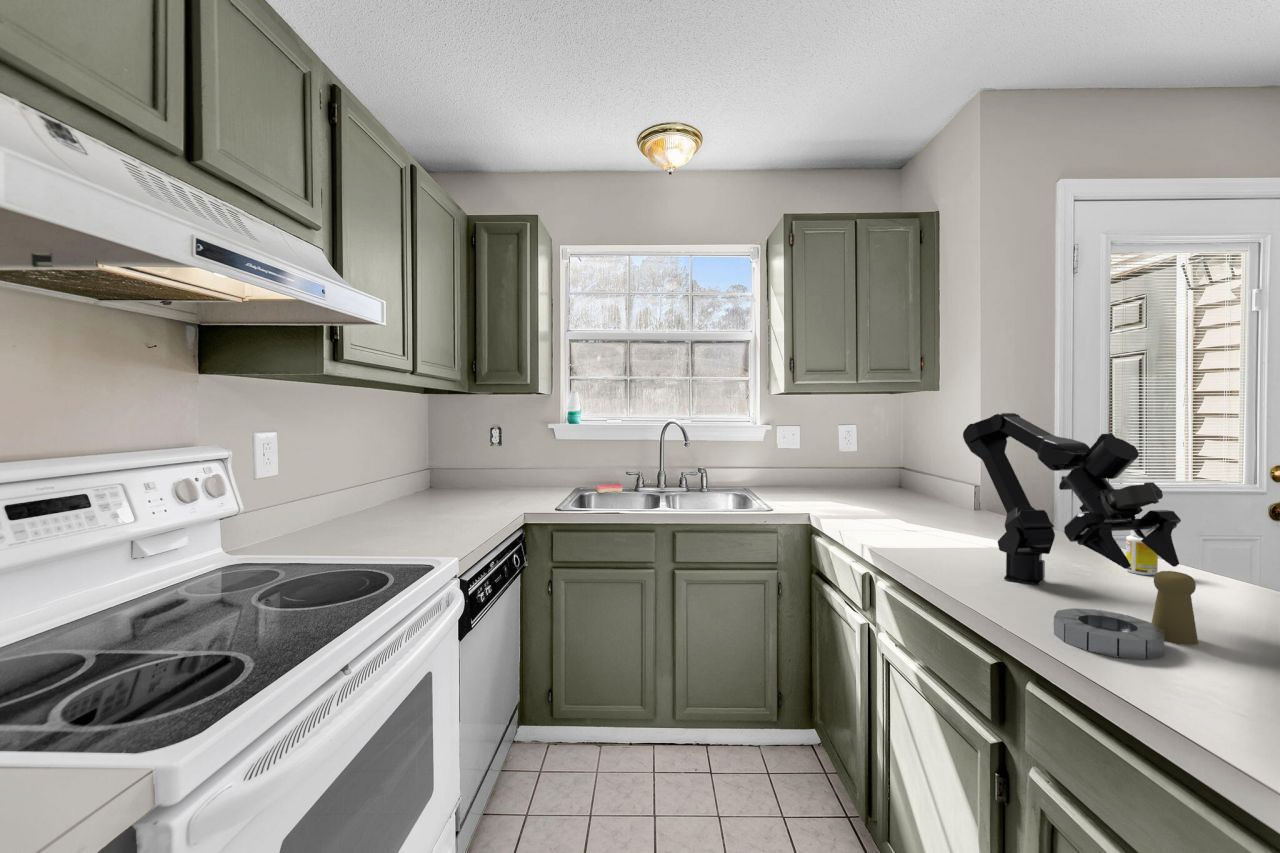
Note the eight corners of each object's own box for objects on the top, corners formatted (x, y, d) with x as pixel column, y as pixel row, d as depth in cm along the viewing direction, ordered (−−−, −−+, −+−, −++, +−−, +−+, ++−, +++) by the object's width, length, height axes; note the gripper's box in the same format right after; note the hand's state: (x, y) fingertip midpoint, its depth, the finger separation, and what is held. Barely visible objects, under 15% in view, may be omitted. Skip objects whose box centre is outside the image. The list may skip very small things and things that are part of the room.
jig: (1048, 642, 96) (1048, 624, 96) (1061, 619, 106) (1061, 603, 106) (1162, 667, 87) (1162, 647, 86) (1165, 639, 97) (1165, 621, 97)
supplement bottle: (1163, 575, 133) (1164, 530, 133) (1144, 577, 132) (1145, 532, 132) (1138, 568, 138) (1138, 525, 138) (1119, 570, 137) (1120, 527, 137)
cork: (1139, 631, 100) (1140, 568, 100) (1172, 630, 101) (1173, 567, 100) (1174, 645, 94) (1175, 578, 94) (1209, 644, 95) (1210, 577, 94)
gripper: (1077, 468, 105) (1134, 542, 94) (1170, 466, 107) (1237, 538, 96) (1042, 505, 113) (1092, 577, 102) (1130, 502, 115) (1188, 573, 104)
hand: (1152, 566), depth 101 cm, fingers open, 9 cm apart
